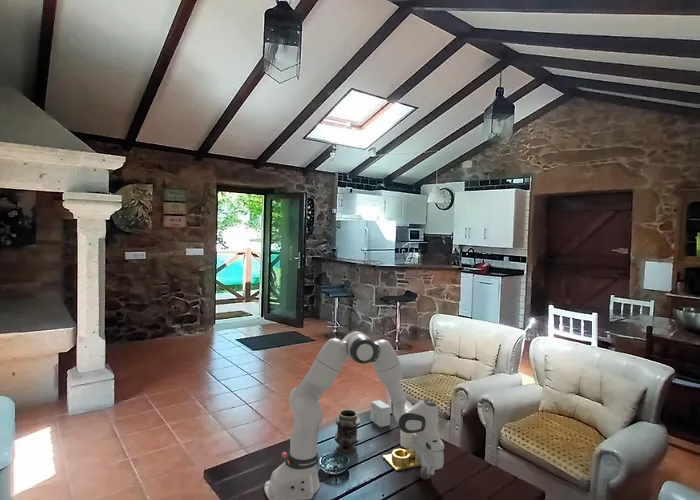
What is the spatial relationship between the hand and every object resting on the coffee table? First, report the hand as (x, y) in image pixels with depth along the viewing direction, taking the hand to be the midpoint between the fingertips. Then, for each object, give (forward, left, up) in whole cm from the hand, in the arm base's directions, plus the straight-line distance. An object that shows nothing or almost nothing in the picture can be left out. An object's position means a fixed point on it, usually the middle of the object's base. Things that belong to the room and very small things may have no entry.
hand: (425, 468), depth 191 cm
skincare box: (+6, +53, -4) cm, 53 cm away
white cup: (+7, +26, -4) cm, 27 cm away
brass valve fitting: (-1, +14, -4) cm, 15 cm away
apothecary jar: (-23, +33, -4) cm, 40 cm away
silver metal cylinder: (0, 0, -4) cm, 4 cm away
